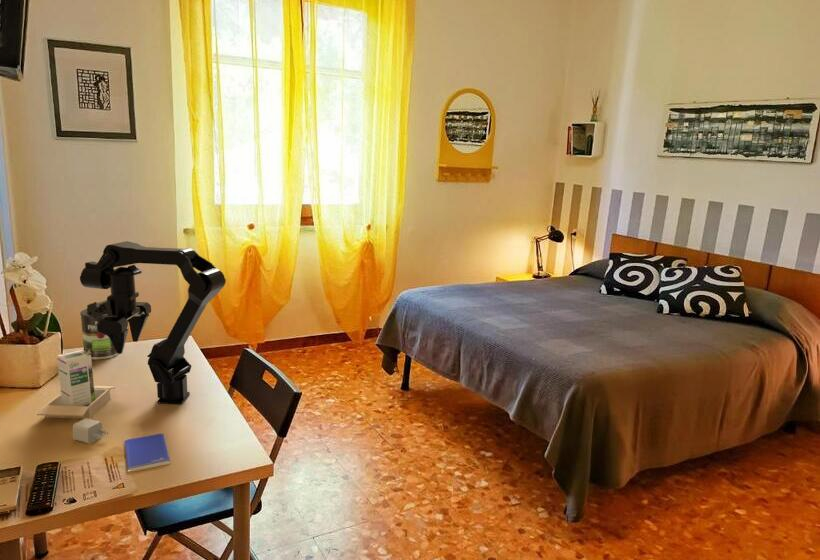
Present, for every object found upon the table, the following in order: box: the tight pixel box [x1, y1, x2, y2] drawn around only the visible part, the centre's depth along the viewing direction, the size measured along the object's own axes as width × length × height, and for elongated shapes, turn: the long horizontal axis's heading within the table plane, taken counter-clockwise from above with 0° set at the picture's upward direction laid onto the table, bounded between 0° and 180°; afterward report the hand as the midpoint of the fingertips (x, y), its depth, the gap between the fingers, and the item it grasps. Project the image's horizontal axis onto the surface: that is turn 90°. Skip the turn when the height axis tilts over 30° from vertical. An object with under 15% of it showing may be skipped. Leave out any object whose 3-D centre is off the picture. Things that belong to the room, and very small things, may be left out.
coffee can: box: [80, 308, 120, 360], centre depth 176 cm, size 10×10×14 cm
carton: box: [36, 385, 116, 420], centre depth 142 cm, size 11×16×3 cm, turn 2°
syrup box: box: [56, 349, 95, 406], centre depth 141 cm, size 6×6×14 cm
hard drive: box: [124, 433, 171, 472], centre depth 124 cm, size 2×8×12 cm
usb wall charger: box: [72, 418, 109, 445], centre depth 128 cm, size 4×7×4 cm, turn 71°
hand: (127, 347), depth 150 cm, fingers open, 9 cm apart
